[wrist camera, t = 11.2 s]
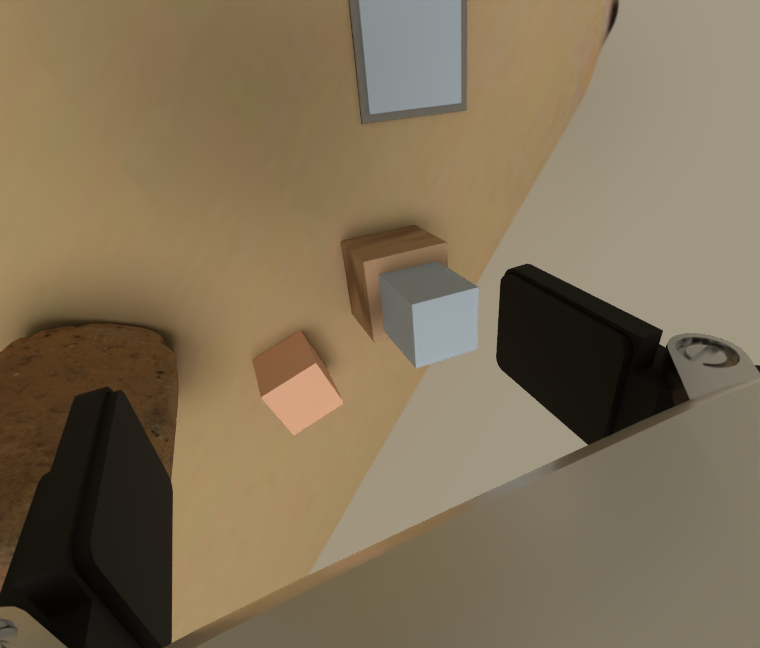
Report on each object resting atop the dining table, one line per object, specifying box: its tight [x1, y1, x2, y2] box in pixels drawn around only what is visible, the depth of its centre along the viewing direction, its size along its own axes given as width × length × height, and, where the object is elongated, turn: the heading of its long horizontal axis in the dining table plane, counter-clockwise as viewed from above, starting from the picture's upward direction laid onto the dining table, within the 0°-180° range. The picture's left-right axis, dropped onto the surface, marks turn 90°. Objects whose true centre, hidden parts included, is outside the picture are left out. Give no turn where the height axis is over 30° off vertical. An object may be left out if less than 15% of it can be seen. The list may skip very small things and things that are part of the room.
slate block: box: [379, 261, 479, 368], centre depth 32 cm, size 5×5×6 cm
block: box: [0, 323, 178, 592], centre depth 25 cm, size 11×8×20 cm
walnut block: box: [341, 225, 447, 342], centre depth 37 cm, size 7×7×6 cm
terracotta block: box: [253, 330, 344, 435], centre depth 37 cm, size 5×5×6 cm
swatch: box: [349, 0, 467, 124], centre depth 32 cm, size 9×9×1 cm
